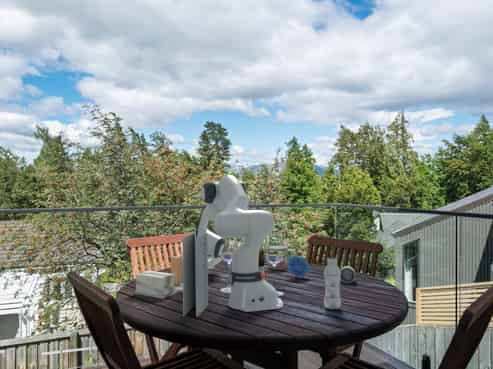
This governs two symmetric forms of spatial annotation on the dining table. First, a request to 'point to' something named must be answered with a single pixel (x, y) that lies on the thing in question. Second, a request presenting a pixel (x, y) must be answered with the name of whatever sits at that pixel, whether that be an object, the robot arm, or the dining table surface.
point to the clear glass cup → (284, 263)
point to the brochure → (195, 273)
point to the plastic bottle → (332, 284)
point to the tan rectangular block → (176, 269)
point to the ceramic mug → (347, 274)
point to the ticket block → (156, 284)
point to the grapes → (298, 266)
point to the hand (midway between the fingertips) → (184, 265)
